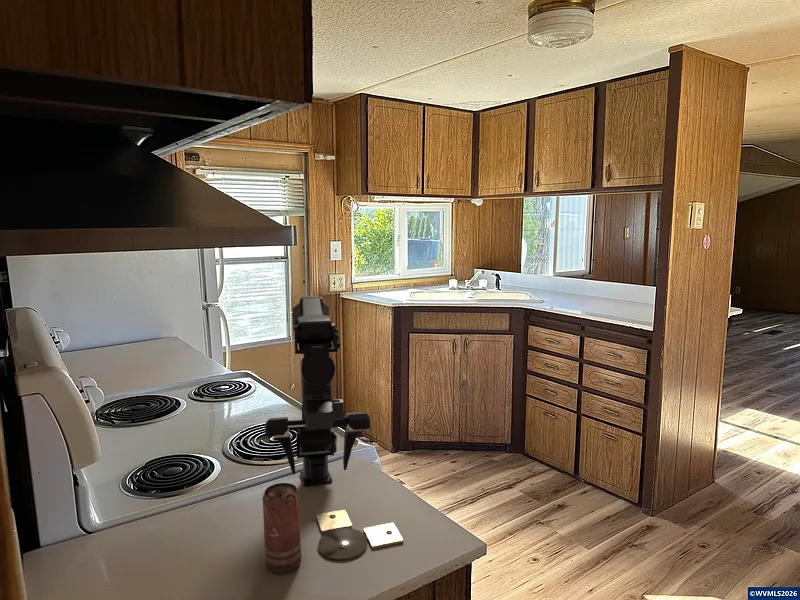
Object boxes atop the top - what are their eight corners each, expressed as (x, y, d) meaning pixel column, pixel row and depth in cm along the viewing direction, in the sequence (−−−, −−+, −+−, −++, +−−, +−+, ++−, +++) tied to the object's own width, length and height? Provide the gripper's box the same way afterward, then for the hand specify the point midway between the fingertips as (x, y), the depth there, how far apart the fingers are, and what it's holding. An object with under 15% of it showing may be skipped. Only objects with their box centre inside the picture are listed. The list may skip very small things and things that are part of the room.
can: (294, 577, 93) (292, 501, 91) (259, 572, 94) (256, 497, 92) (307, 555, 99) (305, 483, 97) (274, 551, 100) (271, 479, 98)
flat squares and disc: (308, 518, 111) (308, 515, 111) (381, 505, 116) (381, 502, 116) (323, 564, 97) (323, 561, 96) (405, 547, 101) (405, 543, 101)
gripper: (262, 389, 93) (264, 485, 91) (372, 383, 96) (376, 475, 94) (266, 388, 104) (268, 473, 102) (364, 382, 107) (368, 464, 105)
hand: (319, 471), depth 100 cm, fingers open, 9 cm apart
